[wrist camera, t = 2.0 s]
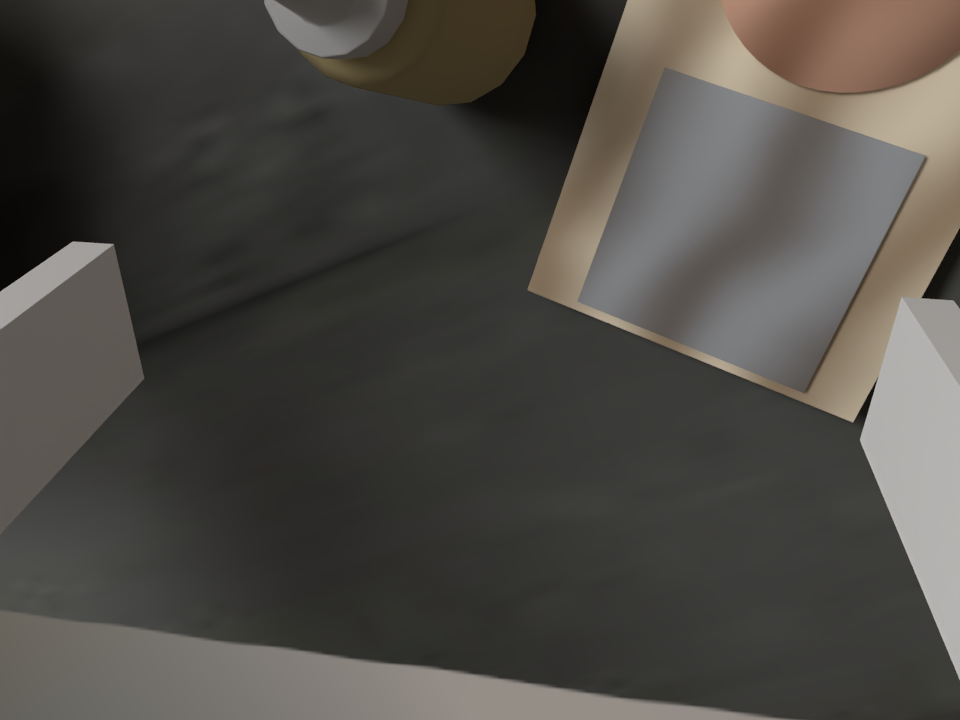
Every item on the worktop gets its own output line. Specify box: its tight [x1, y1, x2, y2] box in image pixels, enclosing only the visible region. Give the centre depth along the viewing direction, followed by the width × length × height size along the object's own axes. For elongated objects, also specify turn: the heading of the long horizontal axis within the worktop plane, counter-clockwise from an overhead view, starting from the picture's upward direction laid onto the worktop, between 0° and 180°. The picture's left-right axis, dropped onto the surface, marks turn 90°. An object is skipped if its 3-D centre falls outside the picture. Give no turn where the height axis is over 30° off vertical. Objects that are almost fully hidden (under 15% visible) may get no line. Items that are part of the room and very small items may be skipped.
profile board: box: [528, 0, 960, 422], centre depth 35 cm, size 16×24×2 cm, turn 162°
